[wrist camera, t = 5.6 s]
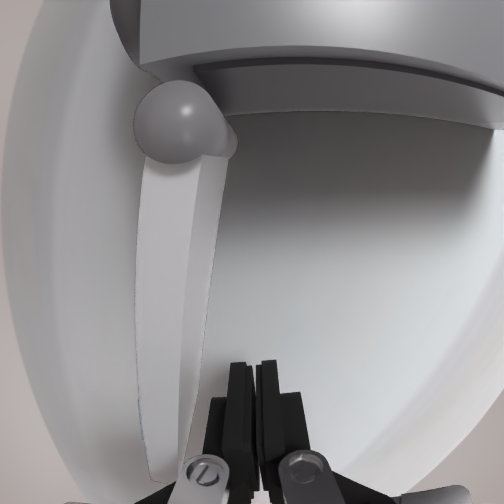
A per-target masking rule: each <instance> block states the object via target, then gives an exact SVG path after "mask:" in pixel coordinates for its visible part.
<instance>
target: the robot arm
mask: <svg viewBox="0 0 504 504" xmlns="http://www.w3.org/2000/svg"><path fill="white" fill-rule="evenodd" d="M259 466H260V472H261V477H262V483H263V489H264V491H269V498H270V502H271V503H272V504H472V500H471V495H470V492H469V490H467V489H466V488H465V487H464V486H461V485H452V486H447V487H442V488H437V489H432V490H426V491H420V492H414V493H406V494H401V495H400V496H398V497H389V496H387V495H385V494H382V493H380V492H377V491H375V490H373V489H370V488H368V487H366V486H363V485H361V484H359V483H357V482H354V481H352V480H350V479H348V478H346V477H344V476H342V475H340V474H338V473H336V472H334V471H332V470H331V468H330V466H329V464H328V461H327V460H326V458H325V457H324V456H323V455H321V454H320V453H318V452H315V451H313V450H311V449H310V444H309V438H308V432H307V426H306V421H305V415H304V409H303V404H302V398H301V393H300V392H293V393H283V394H280V391H279V381H278V371H277V362H276V360H266V361H262V365H256V392H255V384H254V377H253V369H252V365H251V366H247V365H246V362H238V363H231V365H230V374H229V383H228V392H227V397H213V398H212V399H211V403H210V409H209V415H208V422H207V428H206V434H205V440H204V446H203V452H202V455H198V456H195V457H193V458H191V459H189V460H188V461H187V462H186V463H185V464H184V466H183V467H182V469H181V472H180V474H179V477H178V479H177V481H175V482H173V483H171V484H170V485H168V486H166V487H164V488H163V489H161V490H159V491H157V492H155V493H154V494H152V495H150V496H148V497H146V498H144V499H142V500H140V501H138V502H136V503H134V504H251V499H254V491H259V490H260V476H259ZM65 504H88V503H79V502H67V503H65Z"/></svg>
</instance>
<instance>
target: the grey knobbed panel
mask: <svg viewBox="0 0 504 504" xmlns="http://www.w3.org/2000/svg"><path fill="white" fill-rule="evenodd" d="M110 8H111V14H112V18H113V22H114V25H115V27H116V30H117V32H118V34H119V37H120V40H121V42H122V44H123V46H124V48H125V50H126V52H127V54H128V55H129V57H130V58H131V60H132V61H133V62H134V64H135V65H136V66H137V67H138V68H140V69H141V70H143V71H149V72H150V73H151V74H153V75H154V76H155V77H156V78H158V79H159V80H160V81H161V82H163V83H166V82H170V81H176V80H182V81H188V82H192V83H195V84H197V85H199V86H200V87H202V88H203V89H204V90H206V92H207V93H208V94H209V95H210V96H211V98H212V99H213V101H214V102H215V104H216V105H217V106H218V108H219V109H220V111H221V112H222V114H223V115H224V116H230V115H241V114H253V113H268V112H290V111H351V112H372V113H386V114H398V115H408V116H417V117H426V118H433V119H440V120H447V121H453V122H459V123H464V124H470V125H475V126H480V127H485V128H489V129H494V130H504V0H110Z"/></svg>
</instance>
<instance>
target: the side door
mask: <svg viewBox="0 0 504 504" xmlns="http://www.w3.org/2000/svg"><path fill="white" fill-rule="evenodd" d="M133 130H134V136H135V139H136V141H137V144H138V145H139V147H140V149H141V150H142V151H143V152H144V153H145V154H146V155H145V162H144V170H143V178H142V187H141V197H140V207H139V219H138V233H137V251H136V278H135V329H136V356H137V373H138V387H139V400H138V406H139V415H140V423H141V430H142V438H143V440H144V441H145V448H146V454H147V460H148V466H149V472H150V477H151V480H153V481H157V482H161V483H165V484H171V483H173V482H175V481H177V479H178V477H179V474H180V472H181V469H182V466H183V462H184V457H185V452H186V447H187V442H188V438H189V433H190V428H191V423H192V419H193V414H194V410H195V405H196V400H197V396H198V390H199V380H200V370H201V360H202V351H203V341H204V332H205V324H206V315H207V307H208V299H209V291H210V283H211V275H212V268H213V260H214V253H215V246H216V239H217V232H218V225H219V218H220V212H221V205H222V199H223V192H224V186H225V180H226V173H227V167H228V161H229V158H231V157H232V156H233V155H234V153H235V152H236V150H237V146H238V138H237V135H236V133H235V132H234V130H233V129H232V127H231V126H230V124H229V123H228V121H227V120H226V118H225V117H224V115H223V114H222V112H221V111H220V109H219V108H218V106H217V105H216V104H215V102H214V101H213V99H212V98H211V96H210V95H209V94H208V93H207V92H206V90H204V89H203V88H202V87H200V86H199V85H197V84H195V83H192V82H188V81H182V80H176V81H170V82H166V83H163V84H161V85H159V86H157V87H155V88H154V89H152V90H151V91H150V92H149V93H147V94H146V96H145V97H144V98H143V99H142V101H141V102H140V104H139V105H138V107H137V110H136V112H135V116H134V122H133Z"/></svg>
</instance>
